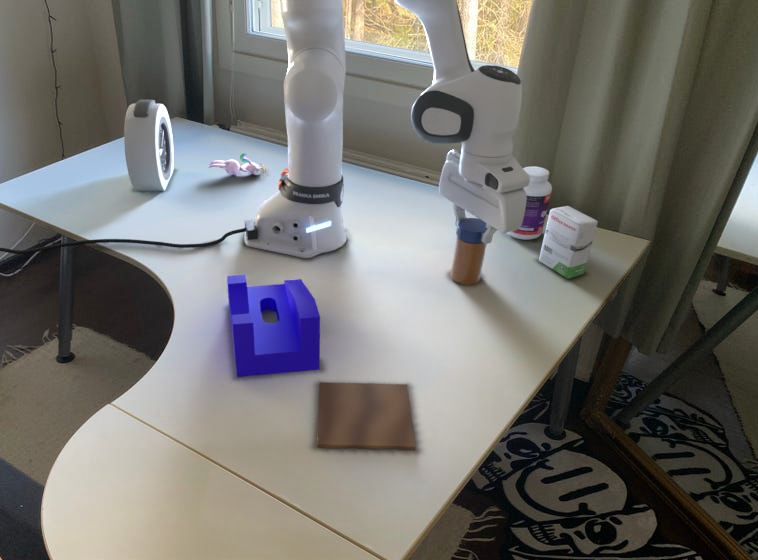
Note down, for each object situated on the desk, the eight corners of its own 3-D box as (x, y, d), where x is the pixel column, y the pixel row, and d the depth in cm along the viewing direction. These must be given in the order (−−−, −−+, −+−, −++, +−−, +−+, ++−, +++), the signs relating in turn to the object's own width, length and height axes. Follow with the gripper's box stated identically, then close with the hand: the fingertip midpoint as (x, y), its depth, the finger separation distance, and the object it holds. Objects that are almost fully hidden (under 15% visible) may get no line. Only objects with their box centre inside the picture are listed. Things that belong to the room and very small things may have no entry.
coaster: (317, 447, 96) (317, 444, 96) (319, 385, 107) (319, 382, 107) (414, 449, 95) (415, 446, 95) (406, 387, 107) (407, 384, 106)
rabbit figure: (263, 173, 179) (207, 167, 176) (266, 151, 176) (209, 145, 173) (265, 182, 175) (208, 176, 171) (268, 160, 171) (209, 154, 168)
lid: (458, 242, 126) (460, 231, 124) (454, 228, 130) (456, 217, 129) (491, 243, 125) (493, 232, 124) (485, 228, 130) (487, 218, 129)
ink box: (585, 274, 134) (600, 220, 127) (566, 279, 133) (581, 225, 125) (555, 255, 141) (568, 203, 133) (536, 260, 139) (549, 208, 132)
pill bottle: (542, 243, 145) (557, 180, 136) (504, 240, 146) (517, 177, 137) (539, 227, 151) (554, 165, 142) (503, 223, 152) (515, 162, 144)
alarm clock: (161, 197, 164) (150, 116, 152) (131, 197, 164) (117, 115, 152) (176, 164, 181) (166, 89, 169) (148, 164, 181) (137, 88, 169)
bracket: (319, 369, 110) (320, 316, 104) (237, 377, 109) (232, 324, 102) (301, 301, 127) (300, 252, 120) (229, 307, 125) (225, 258, 119)
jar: (450, 282, 132) (457, 232, 125) (451, 268, 136) (458, 219, 130) (479, 286, 131) (489, 235, 124) (480, 271, 135) (489, 222, 129)
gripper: (435, 149, 125) (427, 216, 134) (509, 187, 111) (494, 260, 120) (462, 143, 128) (452, 210, 136) (537, 180, 113) (521, 252, 122)
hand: (473, 234), depth 128 cm, fingers closed on lid, 6 cm apart
